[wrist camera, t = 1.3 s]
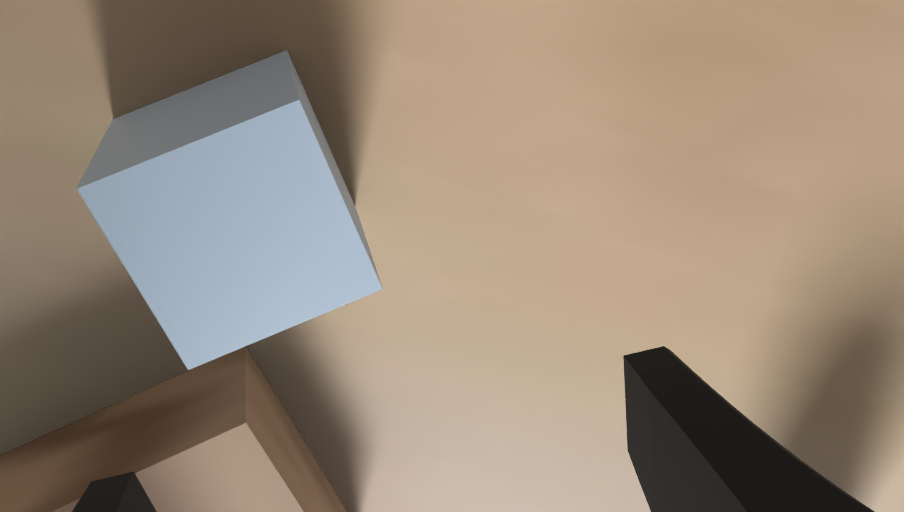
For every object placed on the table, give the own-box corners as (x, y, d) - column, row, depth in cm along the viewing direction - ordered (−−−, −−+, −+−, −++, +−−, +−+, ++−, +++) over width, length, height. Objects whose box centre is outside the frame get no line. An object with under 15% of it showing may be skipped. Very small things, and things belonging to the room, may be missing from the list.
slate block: (199, 269, 22) (188, 370, 18) (113, 118, 20) (76, 189, 15) (355, 205, 22) (382, 289, 18) (286, 49, 20) (299, 99, 16)
